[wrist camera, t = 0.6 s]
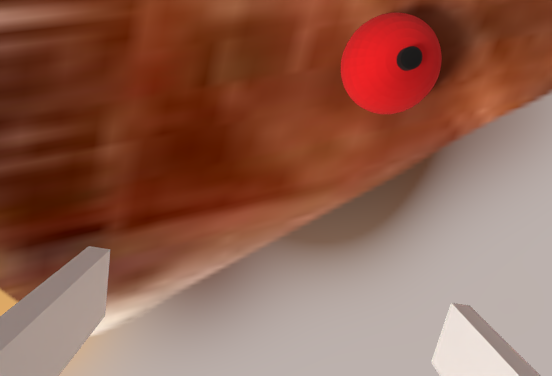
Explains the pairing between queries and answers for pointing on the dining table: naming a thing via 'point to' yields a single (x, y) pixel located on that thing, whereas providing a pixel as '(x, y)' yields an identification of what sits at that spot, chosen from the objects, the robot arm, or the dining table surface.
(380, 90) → the ornament
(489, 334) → the robot arm
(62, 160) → the dining table surface
